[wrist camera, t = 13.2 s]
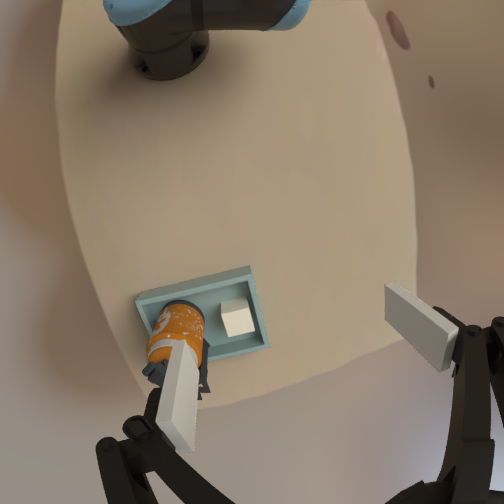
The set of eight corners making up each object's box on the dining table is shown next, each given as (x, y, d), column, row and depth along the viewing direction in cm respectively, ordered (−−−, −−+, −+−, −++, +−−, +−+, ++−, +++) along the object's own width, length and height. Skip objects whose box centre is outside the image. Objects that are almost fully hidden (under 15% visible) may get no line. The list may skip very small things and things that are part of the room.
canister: (176, 289, 50) (155, 351, 31) (222, 321, 53) (224, 391, 34) (152, 320, 52) (125, 386, 32) (196, 349, 54) (189, 421, 35)
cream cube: (220, 302, 52) (221, 314, 47) (246, 295, 52) (248, 307, 47) (227, 323, 53) (228, 337, 49) (252, 317, 54) (255, 330, 49)
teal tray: (141, 292, 51) (134, 301, 46) (249, 265, 51) (252, 273, 47) (168, 356, 55) (165, 368, 51) (267, 335, 56) (270, 347, 52)
